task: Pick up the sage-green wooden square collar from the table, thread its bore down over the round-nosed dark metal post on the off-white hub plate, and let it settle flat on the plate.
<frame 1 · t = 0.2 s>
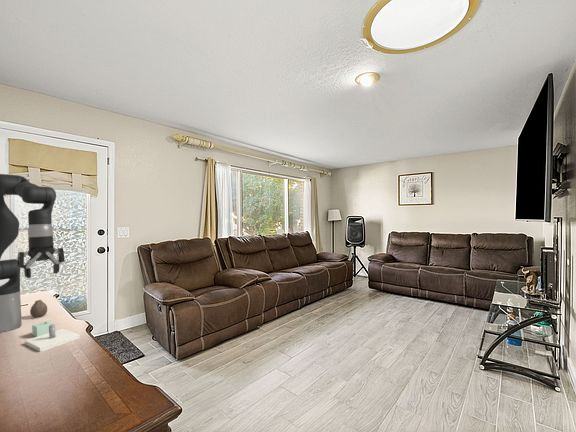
hand: (42, 275, 112), 28 cm above the table, tool pointing down, fingers open, 8 cm apart
vase: (39, 317, 150), on the table
hub plate: (52, 341, 116), on the table
collar: (42, 333, 125), on the table
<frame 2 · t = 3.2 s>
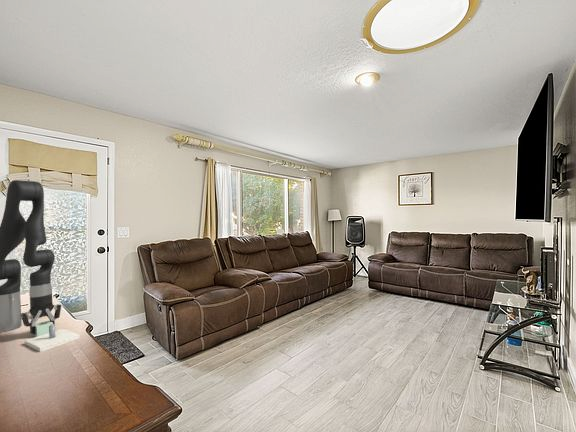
hand: (42, 331, 125), 1 cm above the table, tool pointing down, fingers closed on collar, 5 cm apart
collar: (43, 333, 125), on the table, touching gripper
everything else where it was.
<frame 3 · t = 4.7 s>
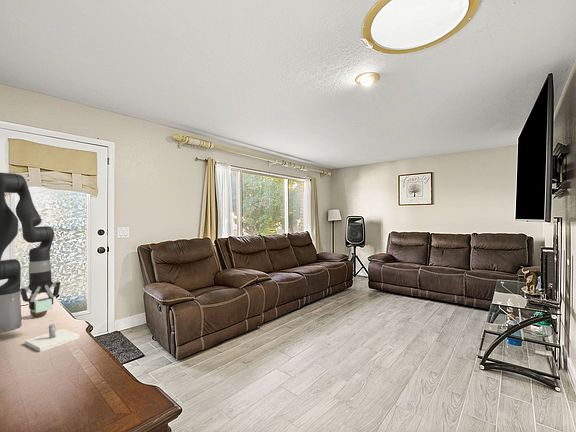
hand: (41, 307, 125), 12 cm above the table, tool pointing down, fingers closed on collar, 5 cm apart
collar: (41, 310, 125), point 11 cm above the table, touching gripper
everything else where it was.
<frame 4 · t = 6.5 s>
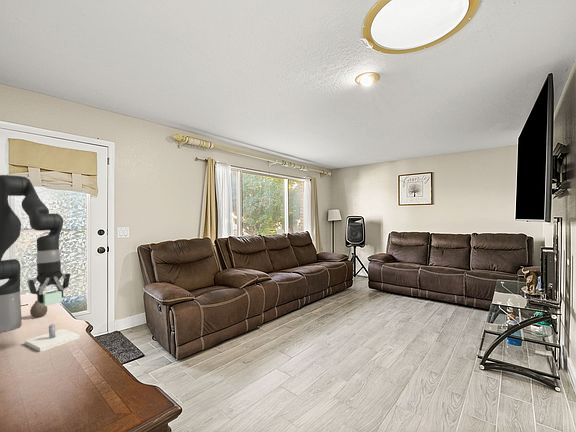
hand: (50, 300, 116), 17 cm above the table, tool pointing down, fingers closed on collar, 5 cm apart
collar: (50, 303, 116), point 16 cm above the table, touching gripper
everything else where it was.
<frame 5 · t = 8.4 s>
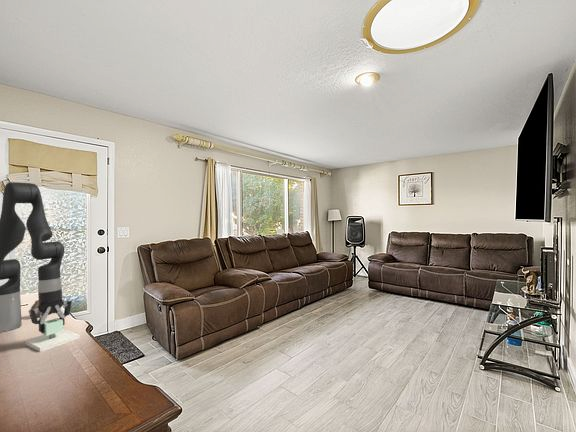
hand: (52, 329, 116), 5 cm above the table, tool pointing down, fingers closed on collar, 5 cm apart
collar: (52, 332, 116), point 4 cm above the table, touching gripper
everything else where it was.
when the fingers open (4 cm above the table, at t = 9.7 s): collar drops 2 cm, resting on hub plate.
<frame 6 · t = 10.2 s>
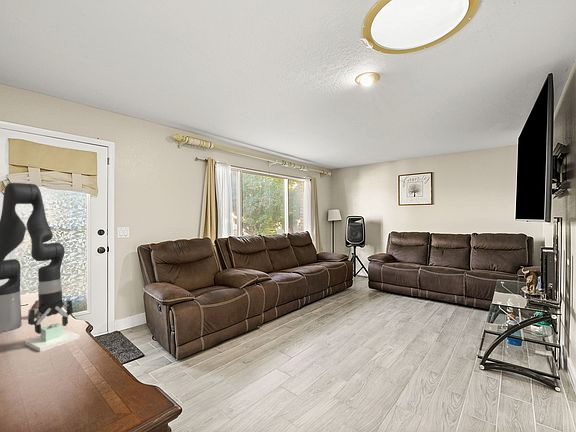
hand: (52, 329, 116), 5 cm above the table, tool pointing down, fingers open, 8 cm apart
collar: (51, 337, 116), point 1 cm above the table, touching hub plate
everything else where it was.
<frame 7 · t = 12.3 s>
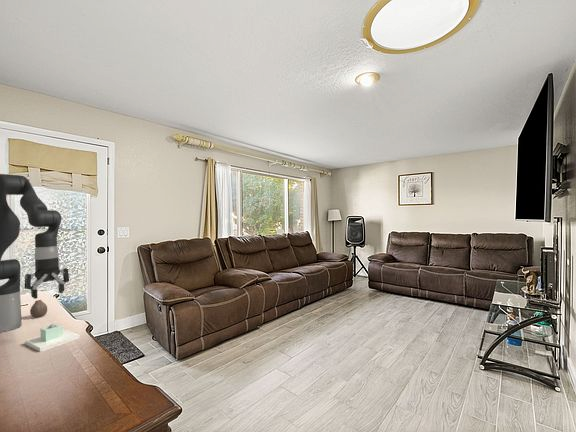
hand: (48, 295, 117), 19 cm above the table, tool pointing down, fingers open, 8 cm apart
nothing on the table moved.
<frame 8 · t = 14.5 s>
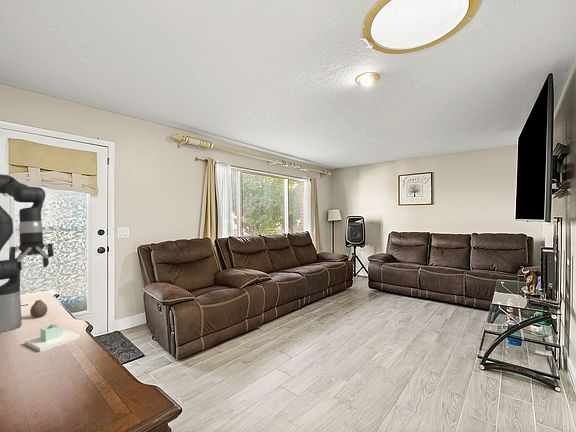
hand: (32, 268, 121), 30 cm above the table, tool pointing down, fingers open, 8 cm apart
nothing on the table moved.
at the end: collar 0.2 cm off-centre on the hub plate, point 1.5 cm above the hub plate's base; collar tilted 0°; the gripper is holding nothing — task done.
